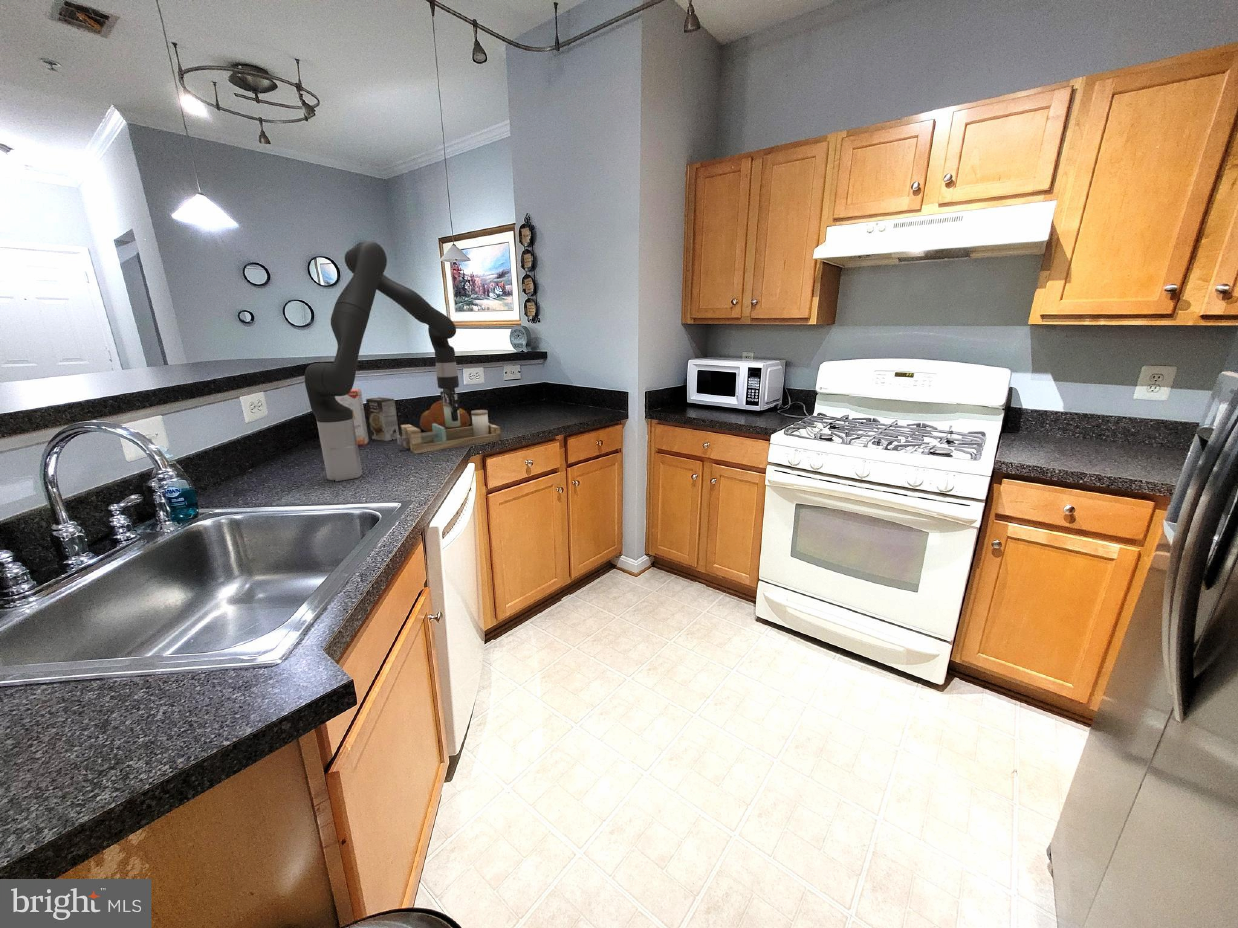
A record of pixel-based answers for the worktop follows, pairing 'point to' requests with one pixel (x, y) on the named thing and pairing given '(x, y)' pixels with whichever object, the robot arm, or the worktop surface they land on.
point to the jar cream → (480, 422)
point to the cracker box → (356, 414)
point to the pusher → (428, 435)
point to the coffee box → (382, 418)
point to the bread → (440, 418)
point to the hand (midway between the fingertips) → (452, 419)
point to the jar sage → (448, 416)
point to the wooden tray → (416, 441)
